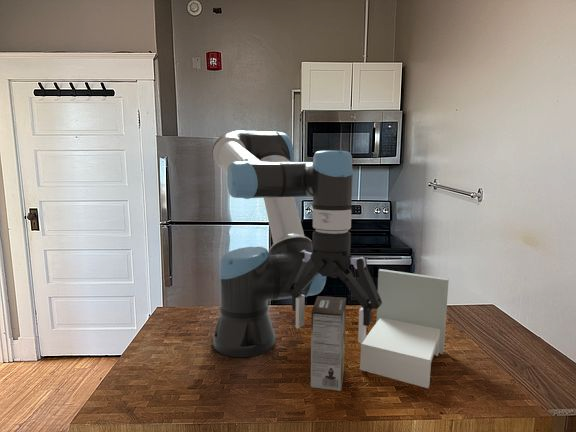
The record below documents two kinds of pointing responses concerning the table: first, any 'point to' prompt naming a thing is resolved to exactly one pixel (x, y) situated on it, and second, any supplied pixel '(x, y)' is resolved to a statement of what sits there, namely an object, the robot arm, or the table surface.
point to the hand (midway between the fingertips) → (329, 332)
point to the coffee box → (328, 342)
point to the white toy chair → (406, 327)
